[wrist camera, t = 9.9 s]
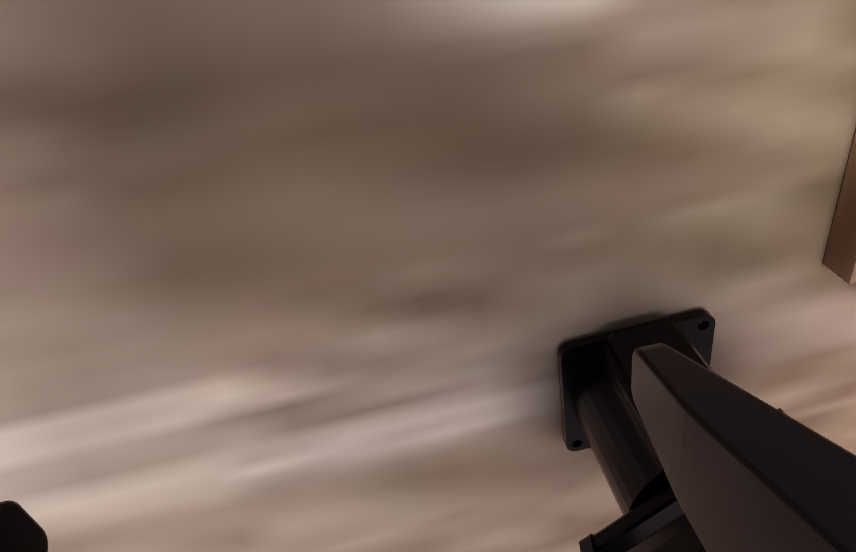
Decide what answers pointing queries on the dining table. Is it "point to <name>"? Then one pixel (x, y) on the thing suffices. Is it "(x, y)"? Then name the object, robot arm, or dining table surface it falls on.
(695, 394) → the robot arm
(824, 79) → the dining table surface
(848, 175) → the ticket board
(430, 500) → the dining table surface
